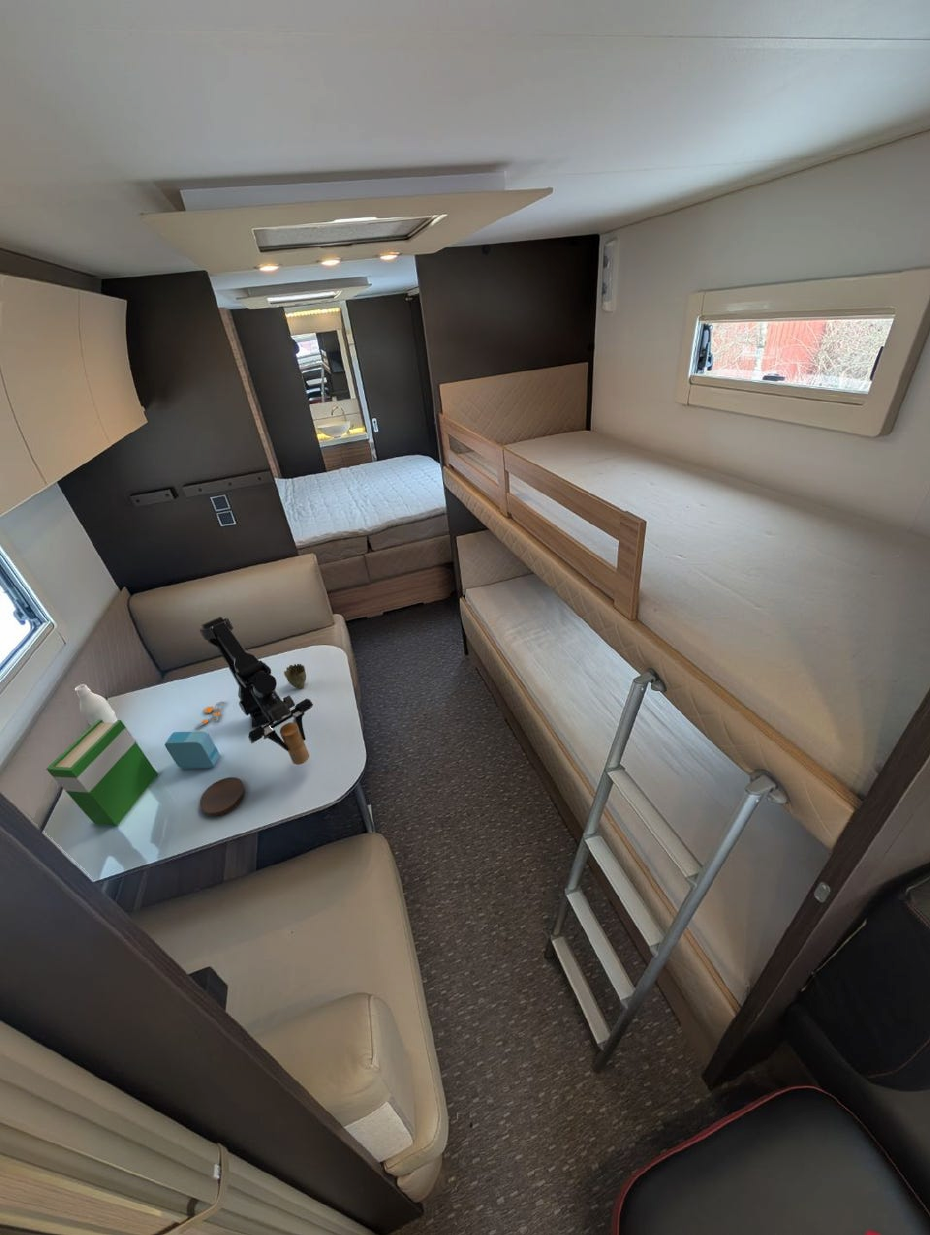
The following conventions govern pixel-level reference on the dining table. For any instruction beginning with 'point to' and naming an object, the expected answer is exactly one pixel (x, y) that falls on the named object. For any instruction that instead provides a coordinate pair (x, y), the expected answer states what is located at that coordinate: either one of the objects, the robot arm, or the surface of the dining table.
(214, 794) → the walnut disc
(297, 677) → the olive tapered rounded piece
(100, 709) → the water bottle
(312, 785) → the dining table surface
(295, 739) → the oak column
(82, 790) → the hardback book
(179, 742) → the data package
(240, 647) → the robot arm
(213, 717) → the key chain
